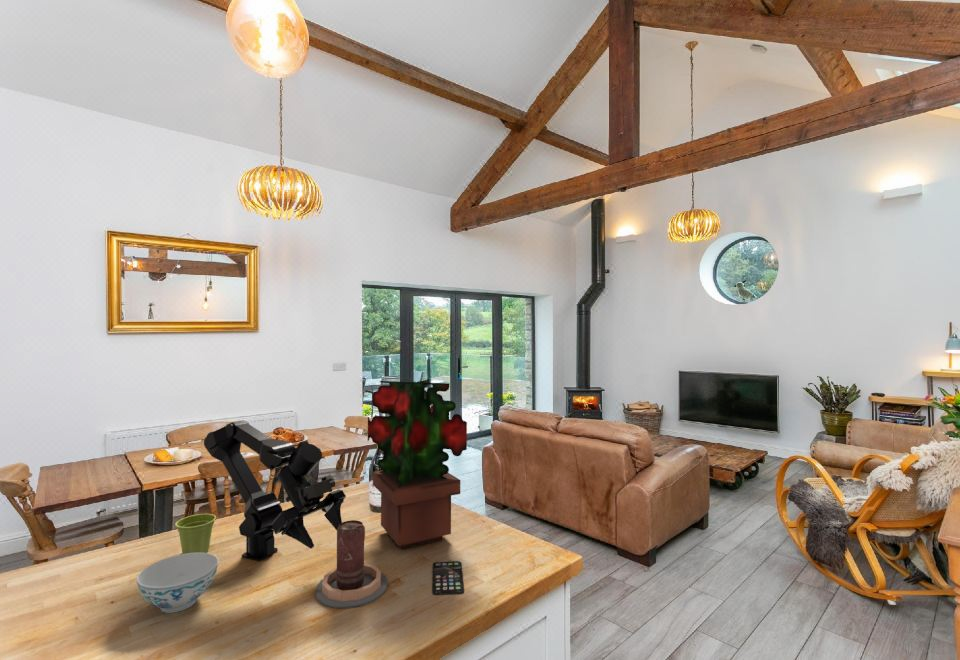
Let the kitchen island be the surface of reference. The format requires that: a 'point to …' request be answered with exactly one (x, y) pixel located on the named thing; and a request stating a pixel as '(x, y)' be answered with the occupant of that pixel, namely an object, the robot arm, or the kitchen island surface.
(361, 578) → the can
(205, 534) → the plant pot
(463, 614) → the kitchen island surface
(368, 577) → the ring tray
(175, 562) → the chinaware
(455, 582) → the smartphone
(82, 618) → the kitchen island surface
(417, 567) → the kitchen island surface
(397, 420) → the potted plant
